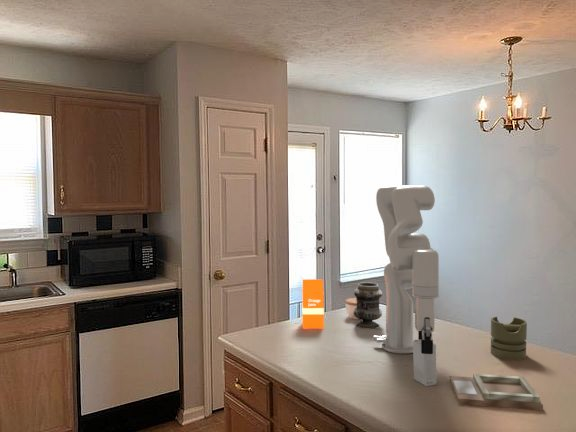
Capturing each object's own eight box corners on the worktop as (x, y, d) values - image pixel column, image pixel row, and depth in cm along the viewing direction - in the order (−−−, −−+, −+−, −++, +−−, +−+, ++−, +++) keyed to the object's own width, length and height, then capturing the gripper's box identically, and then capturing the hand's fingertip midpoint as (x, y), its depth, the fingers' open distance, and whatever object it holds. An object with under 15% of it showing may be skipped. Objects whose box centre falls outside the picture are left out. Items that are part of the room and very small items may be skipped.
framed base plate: (458, 404, 128) (458, 393, 128) (449, 380, 144) (449, 371, 144) (542, 410, 125) (543, 398, 124) (524, 385, 140) (524, 375, 140)
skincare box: (437, 384, 141) (437, 344, 141) (424, 386, 140) (424, 346, 139) (424, 377, 147) (424, 338, 147) (412, 379, 146) (412, 340, 145)
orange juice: (323, 328, 200) (323, 281, 199) (302, 328, 200) (302, 281, 199) (322, 323, 208) (322, 277, 207) (302, 323, 208) (302, 277, 207)
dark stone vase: (375, 331, 196) (375, 287, 195) (348, 327, 202) (348, 284, 201) (386, 324, 206) (386, 282, 205) (360, 320, 212) (360, 280, 211)
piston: (488, 315, 173) (521, 317, 171) (487, 348, 174) (520, 350, 172) (495, 324, 162) (531, 325, 160) (494, 358, 163) (530, 361, 161)
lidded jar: (344, 320, 213) (344, 299, 213) (345, 313, 224) (345, 294, 223) (369, 321, 211) (369, 300, 211) (369, 314, 222) (369, 294, 221)
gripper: (410, 286, 151) (410, 340, 152) (414, 296, 134) (414, 357, 135) (435, 286, 150) (435, 341, 150) (442, 297, 133) (442, 358, 133)
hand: (425, 348), depth 142 cm, fingers open, 9 cm apart
